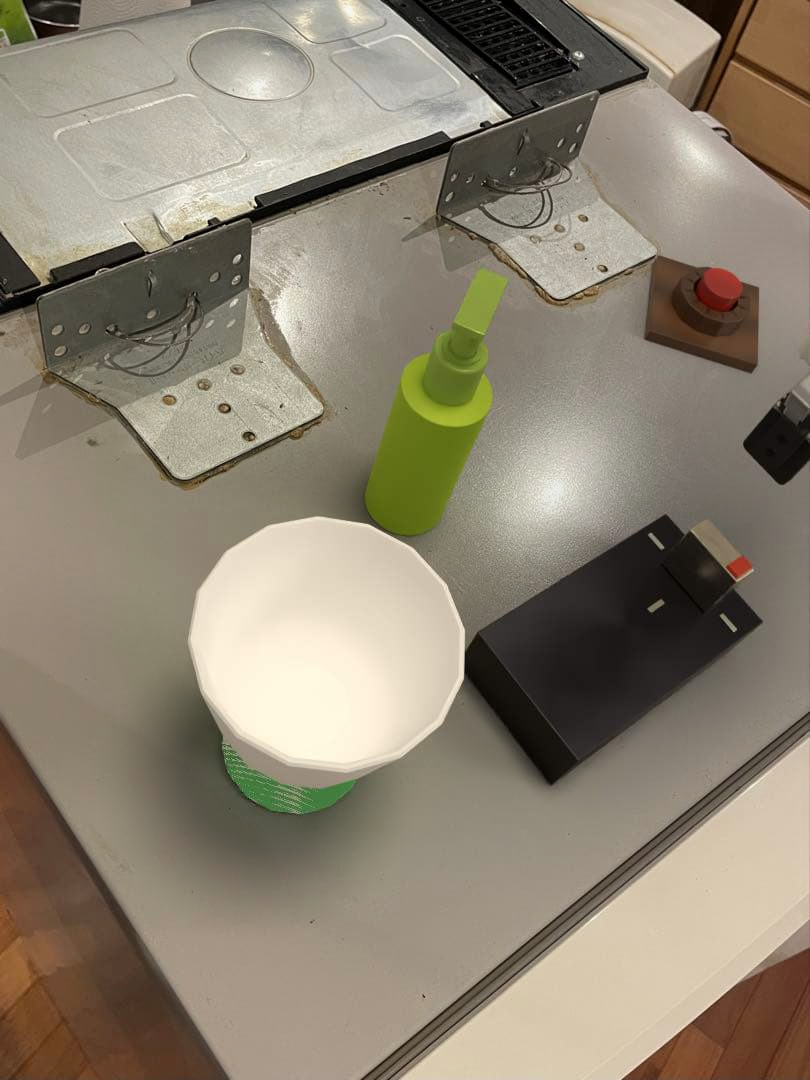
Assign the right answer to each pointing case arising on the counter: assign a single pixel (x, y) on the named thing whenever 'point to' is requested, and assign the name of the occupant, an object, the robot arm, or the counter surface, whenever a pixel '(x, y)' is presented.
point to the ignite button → (718, 289)
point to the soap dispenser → (435, 418)
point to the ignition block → (701, 317)
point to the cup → (323, 656)
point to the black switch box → (600, 650)
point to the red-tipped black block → (707, 565)
